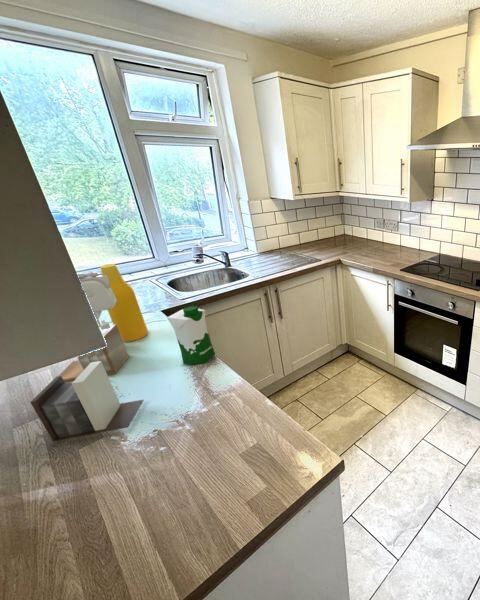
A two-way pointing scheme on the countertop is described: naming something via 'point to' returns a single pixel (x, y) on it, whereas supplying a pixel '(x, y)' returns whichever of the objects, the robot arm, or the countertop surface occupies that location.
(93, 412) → the white book
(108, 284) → the robot arm
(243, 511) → the countertop surface
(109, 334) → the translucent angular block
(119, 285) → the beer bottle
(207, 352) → the milk carton
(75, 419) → the grey book rack
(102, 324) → the eye dropper bottle
